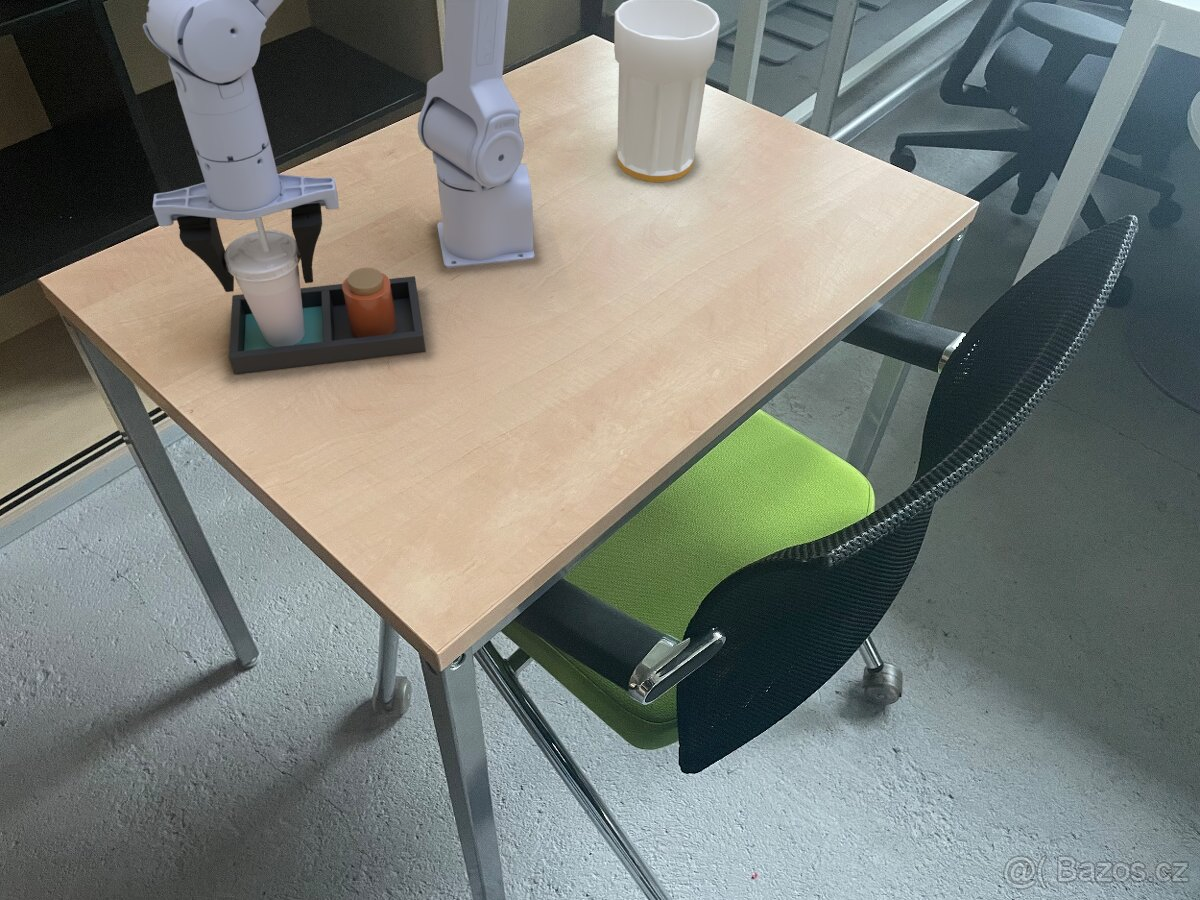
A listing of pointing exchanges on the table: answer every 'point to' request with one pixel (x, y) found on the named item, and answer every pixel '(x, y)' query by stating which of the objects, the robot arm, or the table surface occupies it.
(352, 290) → the spice pot
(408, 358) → the table surface
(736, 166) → the table surface
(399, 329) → the holder
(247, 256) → the smoothie
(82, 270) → the table surface
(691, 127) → the cup
